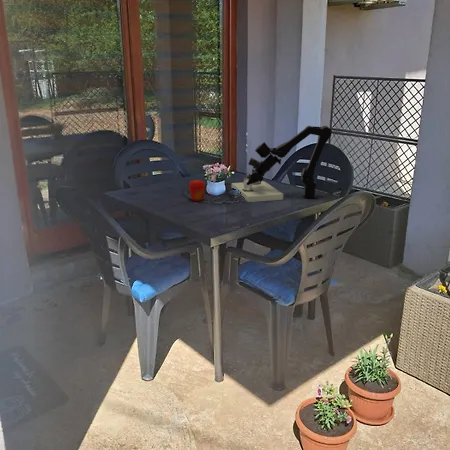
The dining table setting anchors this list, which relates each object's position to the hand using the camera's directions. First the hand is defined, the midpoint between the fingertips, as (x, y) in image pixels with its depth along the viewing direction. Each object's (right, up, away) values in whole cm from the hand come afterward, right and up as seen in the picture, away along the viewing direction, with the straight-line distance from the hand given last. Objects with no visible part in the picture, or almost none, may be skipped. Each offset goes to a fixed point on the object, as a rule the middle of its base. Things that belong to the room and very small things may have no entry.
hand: (247, 183), depth 271 cm
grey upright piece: (+1, -6, +2) cm, 7 cm away
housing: (+6, -5, +6) cm, 10 cm away
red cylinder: (-27, -10, -7) cm, 29 cm away
